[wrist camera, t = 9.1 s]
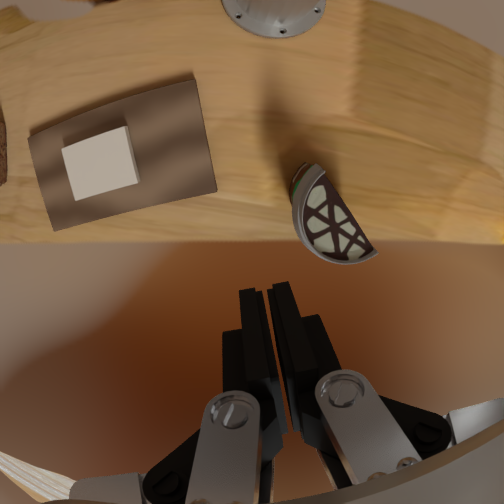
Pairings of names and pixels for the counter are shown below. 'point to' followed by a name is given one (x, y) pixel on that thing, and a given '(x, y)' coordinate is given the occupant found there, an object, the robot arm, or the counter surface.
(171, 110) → the board
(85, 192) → the tile
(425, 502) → the robot arm
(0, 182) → the bread
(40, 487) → the counter surface
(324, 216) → the food container
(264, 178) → the counter surface
